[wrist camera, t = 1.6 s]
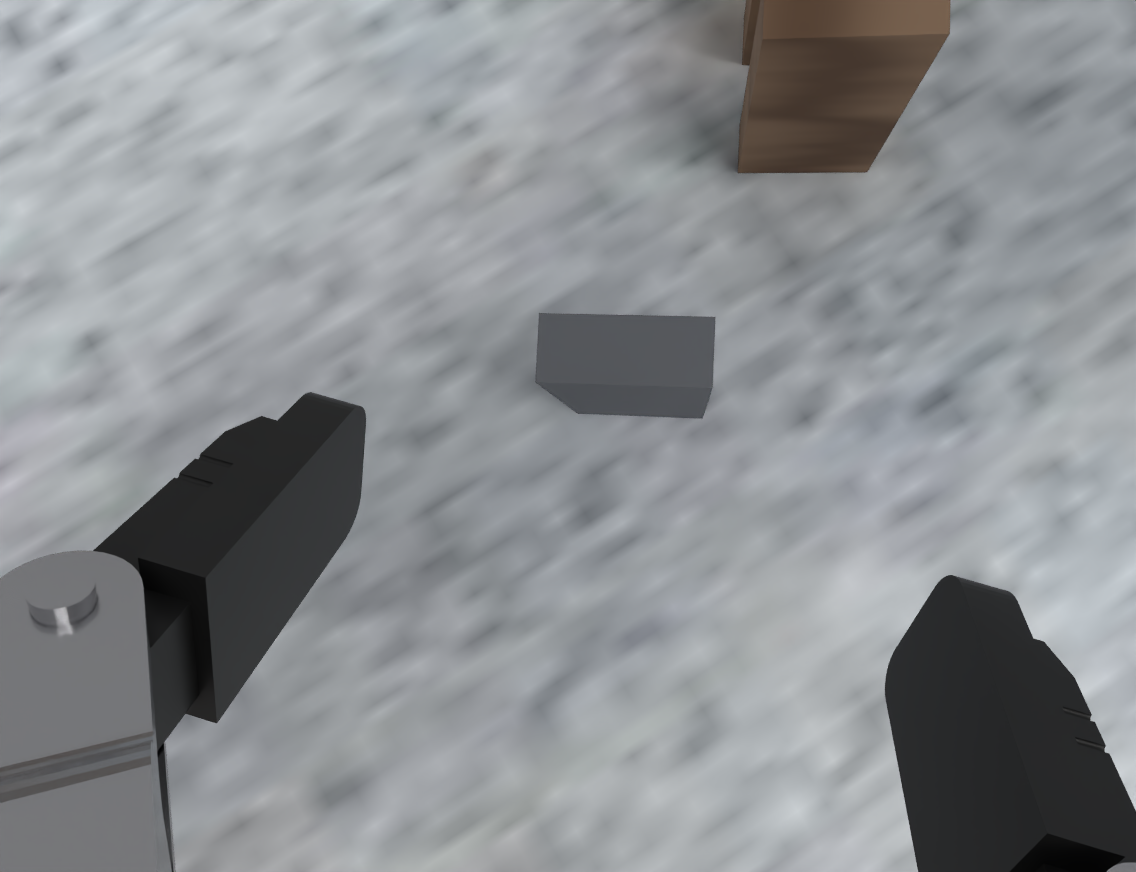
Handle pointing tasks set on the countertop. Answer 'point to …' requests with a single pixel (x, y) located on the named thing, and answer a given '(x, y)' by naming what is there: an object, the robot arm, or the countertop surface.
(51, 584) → the robot arm
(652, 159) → the countertop surface
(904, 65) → the domino
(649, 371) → the domino
